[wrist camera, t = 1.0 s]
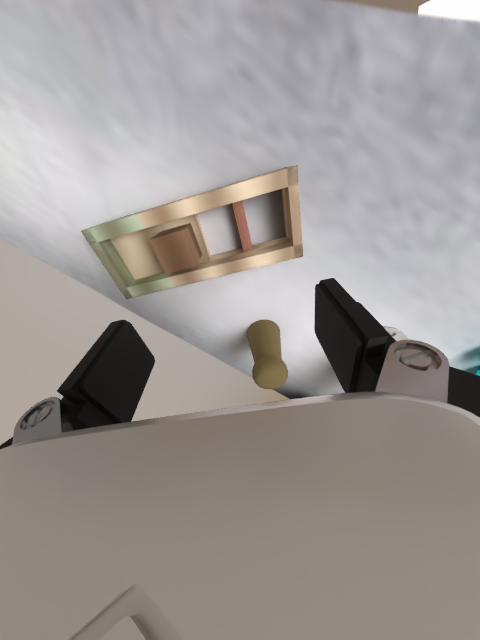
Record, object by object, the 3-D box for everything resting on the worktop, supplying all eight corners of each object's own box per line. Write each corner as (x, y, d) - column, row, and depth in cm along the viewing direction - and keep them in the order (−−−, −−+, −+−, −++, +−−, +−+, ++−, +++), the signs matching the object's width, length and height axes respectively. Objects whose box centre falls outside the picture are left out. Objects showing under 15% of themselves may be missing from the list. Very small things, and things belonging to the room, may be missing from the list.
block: (190, 222, 24) (183, 230, 21) (202, 254, 27) (197, 265, 23) (160, 231, 25) (149, 239, 22) (174, 262, 27) (165, 273, 24)
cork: (286, 331, 37) (301, 381, 28) (263, 349, 40) (270, 400, 31) (263, 313, 35) (272, 361, 26) (240, 334, 37) (241, 384, 28)
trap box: (287, 167, 23) (297, 165, 19) (294, 245, 28) (303, 256, 24) (103, 223, 26) (81, 231, 22) (139, 284, 31) (126, 299, 28)
